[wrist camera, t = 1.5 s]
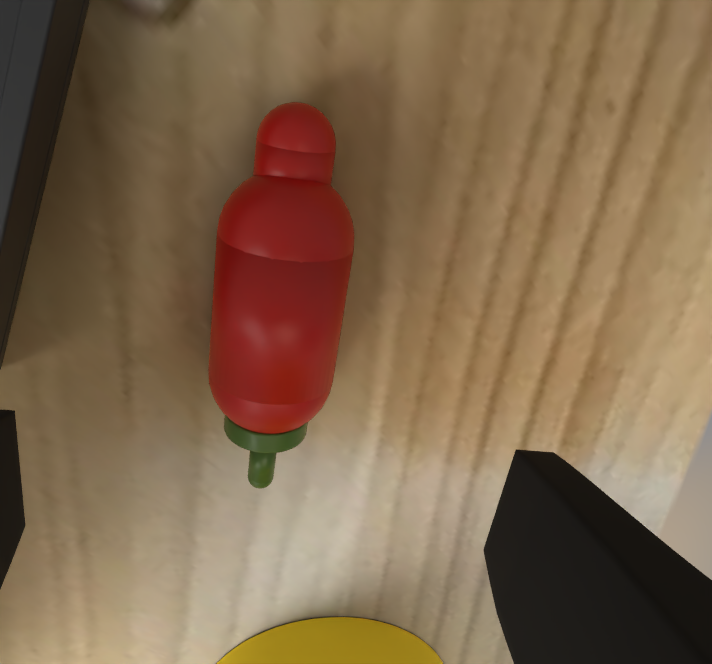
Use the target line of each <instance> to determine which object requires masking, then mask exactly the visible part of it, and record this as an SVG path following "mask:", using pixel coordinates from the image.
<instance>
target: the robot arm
mask: <svg viewBox="0 0 712 664" xmlns="http://www.w3.org/2000/svg"><path fill="white" fill-rule="evenodd" d="M24 528H25V517H24V506H23V495H22V484H21V474H20V463H19V452H18V442H17V431H16V420H15V411H12V410H0V589H1V586H2V584H3V581H4V579H5V576H6V574H7V572H8V569H9V567H10V564H11V562H12V559H13V557H14V554H15V551H16V549H17V546H18V543H19V541H20V538H21V536H22V533H23V530H24ZM484 555H485V560H486V565H487V570H488V575H489V580H490V585H491V589H492V594H493V598H494V602H495V607H496V611H497V615H498V618H499V621H500V624H501V627H502V630H503V633H504V636H505V639H506V642H507V645H508V648H509V650H510V653H511V656H512V659H513V662H514V664H712V580H711V579H709V578H708V577H707V576H705V575H704V574H703V573H702V572H700V571H699V570H698V569H696V568H695V567H694V566H693V565H691V564H690V563H689V562H688V561H686V560H685V559H684V558H683V557H681V556H680V555H679V554H678V553H676V552H675V551H674V550H672V549H671V548H670V547H669V546H668V545H666V544H665V543H664V542H663V541H661V540H660V539H659V538H658V537H657V536H656V535H654V534H653V533H652V532H651V531H649V530H648V529H647V528H646V527H645V526H643V525H642V524H641V523H640V522H639V521H637V520H636V519H635V518H634V517H633V516H631V515H630V514H629V513H628V512H627V511H626V510H624V509H623V508H622V507H621V506H620V505H618V504H617V503H616V502H615V501H614V500H612V499H611V498H610V497H609V496H608V495H606V494H605V493H604V492H603V491H602V490H601V489H599V488H598V487H597V486H596V485H595V484H593V483H592V482H591V481H590V480H588V479H587V478H586V477H585V476H584V475H582V474H581V473H580V472H579V471H577V470H576V469H575V468H574V467H572V466H571V465H570V464H569V463H567V462H566V461H565V460H563V459H562V458H560V457H559V456H558V455H556V454H555V453H553V452H540V451H527V450H516V451H515V454H514V457H513V460H512V463H511V466H510V469H509V473H508V476H507V479H506V482H505V485H504V488H503V491H502V494H501V497H500V500H499V503H498V507H497V510H496V513H495V516H494V519H493V522H492V525H491V528H490V531H489V534H488V538H487V541H486V544H485V547H484Z"/></svg>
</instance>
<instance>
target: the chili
mask: <svg viewBox="0 0 712 664" xmlns="http://www.w3.org/2000/svg"><path fill="white" fill-rule="evenodd" d="M335 148H336V140H335V134H334V131H333V128H332V126H331V124H330V122H329V121H328V119H327V118H326V117H325V116H324V115H323V113H321V112H320V111H319V110H317V109H316V108H315V107H312V106H310V105H308V104H305V103H298V102H291V103H285V104H282V105H280V106H277V107H276V108H274V109H273V110H271V111H270V112H269V113H268V114H267V115H266V116H265V118H264V119H263V121H262V122H261V124H260V126H259V129H258V132H257V138H256V148H255V160H254V172H253V176H252V177H251V178H249V179H247V180H246V181H244V182H243V183H242V184H241V185H240V186H239V187H238V188H237V189H235V190H234V192H233V193H232V194H231V196H230V197H229V199H228V200H227V202H226V203H225V205H224V207H223V210H222V212H221V215H220V217H219V223H218V229H217V241H216V257H215V273H214V289H213V305H212V321H211V337H210V353H209V369H208V371H209V384H210V388H211V391H212V394H213V397H214V399H215V401H216V403H217V404H218V406H219V408H220V409H221V410H222V412H223V413H224V414H225V421H224V429H225V432H226V435H227V436H228V438H229V439H230V440H231V441H232V442H233V443H235V444H236V445H238V446H240V447H242V448H244V449H247V450H250V458H249V468H248V480H249V482H250V484H251V485H252V486H254V487H256V488H265V487H267V486H268V485H269V484H270V483H271V482H272V480H273V476H274V468H275V459H276V453H278V452H283V451H287V450H290V449H292V448H294V447H296V446H297V445H298V444H300V443H301V442H302V440H303V439H304V437H305V435H306V429H307V422H308V421H310V420H311V419H312V418H313V417H314V416H315V415H316V414H317V413H318V412H319V410H320V409H321V408H322V407H323V405H324V403H325V401H326V399H327V398H328V395H329V393H330V390H331V386H332V383H333V377H334V371H335V364H336V358H337V352H338V345H339V339H340V333H341V326H342V320H343V314H344V307H345V301H346V295H347V288H348V282H349V276H350V269H351V263H352V257H353V250H354V229H353V222H352V219H351V216H350V213H349V210H348V208H347V206H346V205H345V203H344V201H343V200H342V198H341V197H340V195H339V194H338V193H337V192H336V191H335V190H334V189H333V188H332V186H331V180H332V173H333V165H334V158H335Z"/></svg>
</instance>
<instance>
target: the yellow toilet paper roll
mask: <svg viewBox="0 0 712 664" xmlns="http://www.w3.org/2000/svg"><path fill="white" fill-rule="evenodd" d="M217 664H443V662H442V661H441V659H440V658H439V656H438V655H437V654H436V652H435V651H434V650H433V649H432V648H431V647H430V646H429V645H427V644H426V643H425V642H424V641H422V640H421V639H419V638H418V637H416V636H415V635H413V634H411V633H409V632H407V631H405V630H403V629H401V628H398V627H396V626H393V625H390V624H386V623H383V622H379V621H374V620H369V619H362V618H351V617H327V618H316V619H309V620H303V621H298V622H293V623H289V624H286V625H282V626H279V627H276V628H273V629H270V630H268V631H265V632H263V633H261V634H259V635H256V636H254V637H252V638H250V639H249V640H247V641H245V642H243V643H242V644H240V645H239V646H237V647H236V648H234V649H233V650H231V651H230V652H229V653H228V654H226V655H225V656H224V657H223V658H222V659H221V660H220V661H219V662H218V663H217Z"/></svg>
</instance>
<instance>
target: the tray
mask: <svg viewBox="0 0 712 664" xmlns="http://www.w3.org/2000/svg"><path fill="white" fill-rule="evenodd" d="M88 4H89V0H0V369H1V366H2V362H3V358H4V353H5V349H6V345H7V341H8V337H9V333H10V328H11V324H12V320H13V316H14V312H15V308H16V304H17V299H18V295H19V291H20V287H21V283H22V279H23V274H24V270H25V266H26V262H27V258H28V254H29V250H30V245H31V241H32V237H33V233H34V229H35V225H36V220H37V216H38V212H39V208H40V204H41V200H42V196H43V191H44V187H45V183H46V179H47V175H48V171H49V166H50V162H51V158H52V154H53V150H54V146H55V142H56V137H57V133H58V129H59V125H60V121H61V117H62V112H63V108H64V104H65V100H66V96H67V92H68V88H69V83H70V79H71V75H72V71H73V67H74V63H75V58H76V54H77V50H78V46H79V42H80V38H81V34H82V29H83V25H84V21H85V17H86V13H87V9H88Z"/></svg>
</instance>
